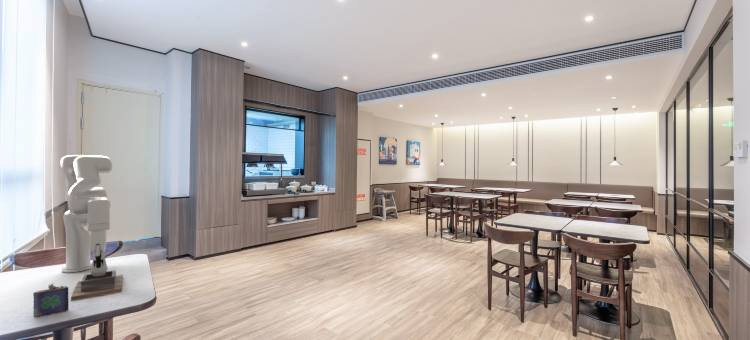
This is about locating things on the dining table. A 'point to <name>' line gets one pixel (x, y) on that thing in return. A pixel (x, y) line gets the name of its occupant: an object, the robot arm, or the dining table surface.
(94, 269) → the salt shaker
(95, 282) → the holder board
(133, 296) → the dining table surface
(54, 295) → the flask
